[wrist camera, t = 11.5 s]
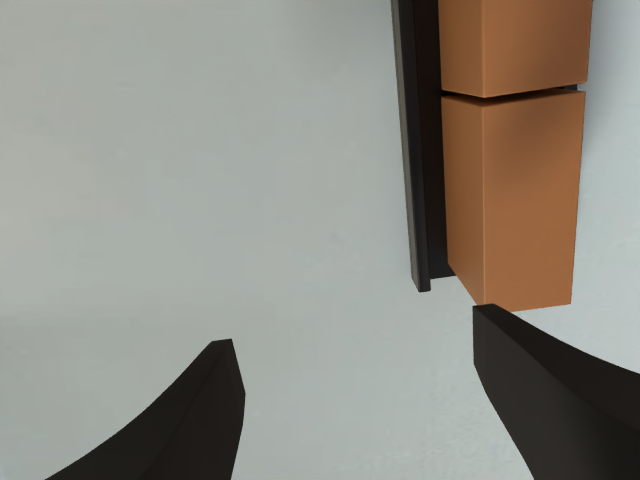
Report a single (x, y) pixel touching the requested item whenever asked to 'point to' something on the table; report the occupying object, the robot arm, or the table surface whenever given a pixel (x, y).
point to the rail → (423, 135)
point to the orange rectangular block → (513, 194)
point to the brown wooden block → (513, 45)
